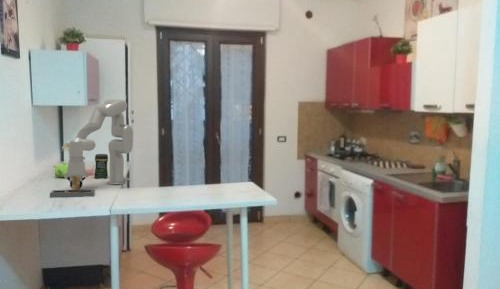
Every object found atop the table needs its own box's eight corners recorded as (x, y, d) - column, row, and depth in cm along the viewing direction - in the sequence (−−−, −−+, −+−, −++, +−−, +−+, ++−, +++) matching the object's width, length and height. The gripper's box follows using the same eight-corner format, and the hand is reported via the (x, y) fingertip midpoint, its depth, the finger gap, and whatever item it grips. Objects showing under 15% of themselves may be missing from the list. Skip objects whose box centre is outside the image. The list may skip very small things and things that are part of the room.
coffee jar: (93, 178, 303) (93, 154, 302) (95, 177, 311) (95, 153, 310) (107, 178, 305) (107, 154, 304) (108, 177, 313) (108, 153, 312)
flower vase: (79, 170, 341) (79, 141, 339) (78, 174, 323) (78, 143, 322) (62, 171, 336) (62, 141, 334) (60, 174, 319) (60, 143, 317)
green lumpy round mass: (71, 175, 316) (72, 161, 315) (77, 178, 305) (78, 163, 304) (51, 176, 306) (51, 162, 305) (56, 179, 295) (56, 164, 294)
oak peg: (80, 190, 259) (80, 174, 258) (79, 191, 255) (79, 176, 254) (72, 190, 258) (73, 175, 257) (72, 191, 253) (72, 176, 253)
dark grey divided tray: (94, 193, 251) (94, 189, 250) (93, 196, 242) (93, 192, 242) (52, 194, 244) (52, 190, 244) (49, 197, 235) (49, 193, 235)
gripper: (91, 158, 261) (90, 186, 262) (62, 158, 256) (62, 186, 257) (89, 159, 254) (89, 188, 255) (60, 159, 249) (60, 189, 250)
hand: (76, 187), depth 256 cm, fingers closed on oak peg, 4 cm apart
